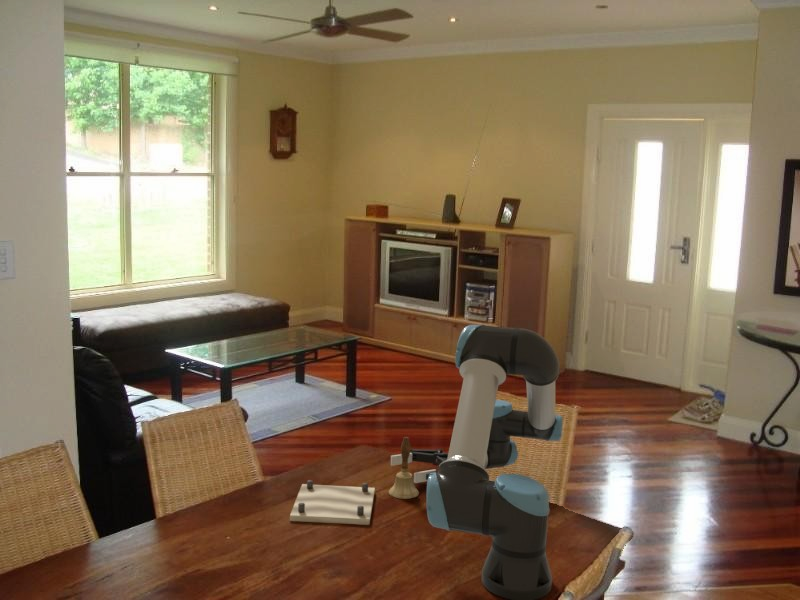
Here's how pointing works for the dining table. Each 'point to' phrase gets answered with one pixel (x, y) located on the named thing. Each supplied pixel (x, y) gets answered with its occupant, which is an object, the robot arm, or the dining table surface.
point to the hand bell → (404, 476)
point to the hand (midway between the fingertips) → (402, 469)
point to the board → (333, 504)
